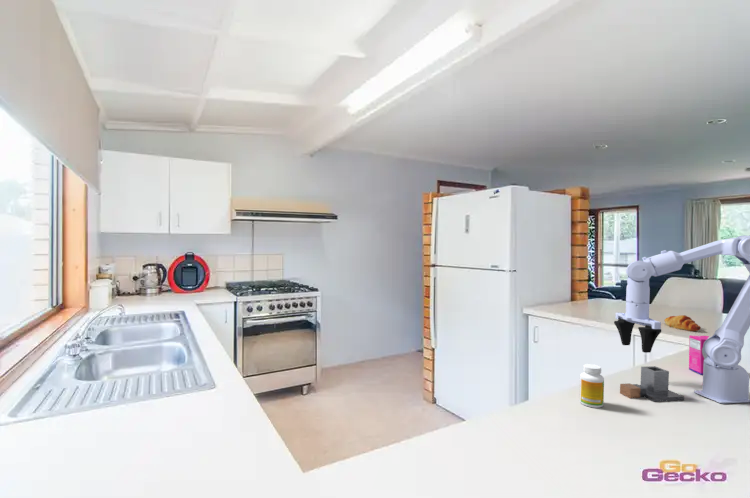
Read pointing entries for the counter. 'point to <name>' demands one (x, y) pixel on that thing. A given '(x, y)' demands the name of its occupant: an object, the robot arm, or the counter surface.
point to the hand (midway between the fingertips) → (635, 348)
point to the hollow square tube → (655, 379)
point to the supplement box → (697, 353)
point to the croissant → (682, 323)
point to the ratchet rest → (647, 393)
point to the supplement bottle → (591, 386)
